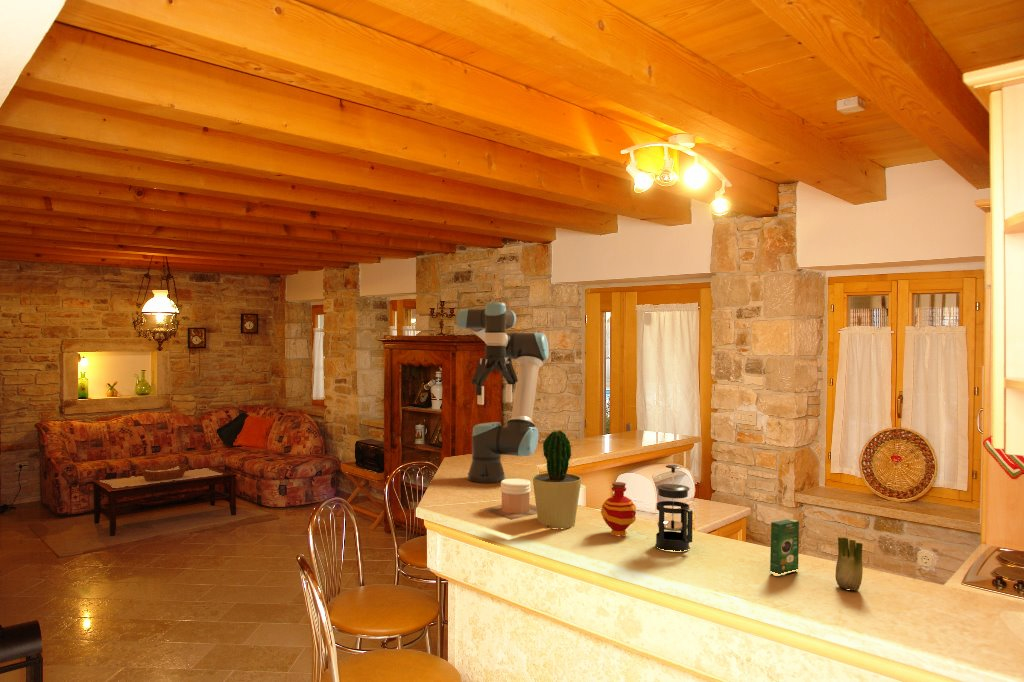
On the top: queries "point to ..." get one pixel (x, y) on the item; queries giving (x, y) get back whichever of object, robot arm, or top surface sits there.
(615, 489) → the potion bottle
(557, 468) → the potted cactus
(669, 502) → the french press
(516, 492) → the cream flat cylinder
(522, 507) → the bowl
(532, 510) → the board
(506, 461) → the top surface
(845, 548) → the fennel bulb
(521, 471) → the top surface
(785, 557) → the coffee box
